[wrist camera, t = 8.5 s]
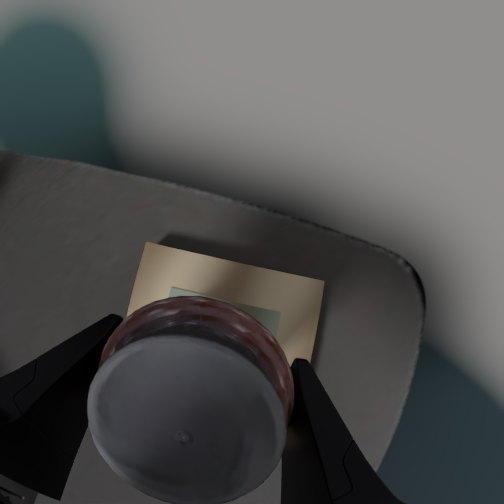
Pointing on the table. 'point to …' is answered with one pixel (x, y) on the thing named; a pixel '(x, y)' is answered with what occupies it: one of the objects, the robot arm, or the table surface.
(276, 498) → the table surface
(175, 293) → the board
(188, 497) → the supplement bottle
